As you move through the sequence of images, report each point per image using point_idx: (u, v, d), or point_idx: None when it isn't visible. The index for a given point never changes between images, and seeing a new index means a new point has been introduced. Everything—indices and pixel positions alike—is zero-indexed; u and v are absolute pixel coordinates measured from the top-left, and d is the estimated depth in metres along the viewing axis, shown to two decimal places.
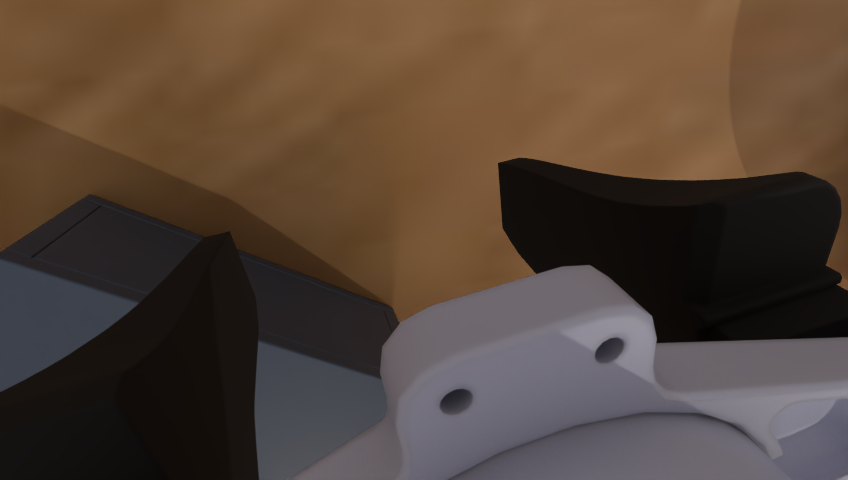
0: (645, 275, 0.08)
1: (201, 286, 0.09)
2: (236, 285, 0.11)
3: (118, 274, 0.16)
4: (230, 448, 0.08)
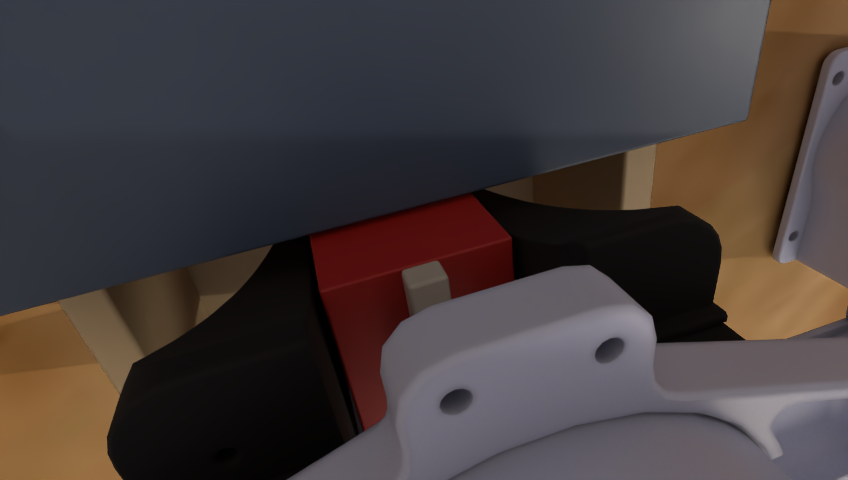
0: None
1: (310, 257, 0.10)
2: None
3: None
4: (348, 410, 0.09)
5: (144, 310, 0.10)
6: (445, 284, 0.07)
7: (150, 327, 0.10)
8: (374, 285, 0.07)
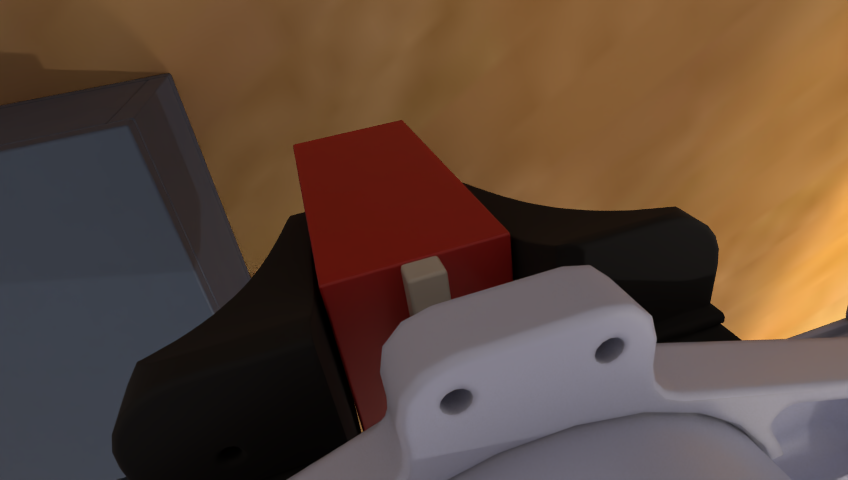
0: None
1: (312, 256, 0.10)
2: None
3: None
4: (350, 409, 0.09)
5: None
6: (445, 279, 0.07)
7: None
8: (374, 280, 0.07)
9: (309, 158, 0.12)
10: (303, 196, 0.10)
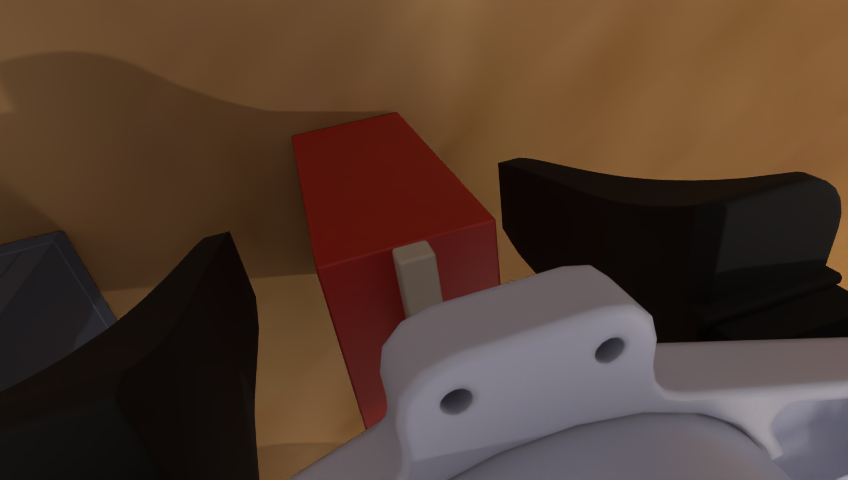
0: (645, 275, 0.08)
1: (201, 286, 0.09)
2: (236, 285, 0.11)
3: None
4: (230, 448, 0.08)
5: None
6: (433, 262, 0.08)
7: None
8: (367, 262, 0.08)
9: (307, 150, 0.12)
10: (301, 185, 0.11)
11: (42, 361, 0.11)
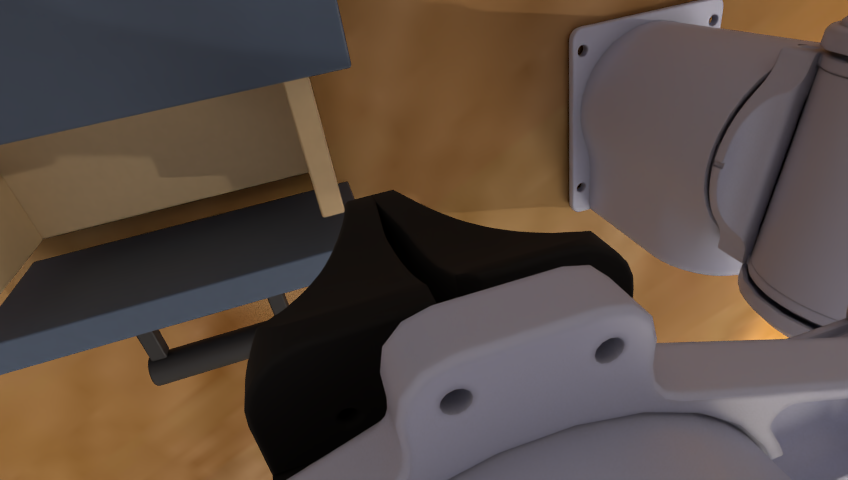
0: None
1: (385, 236, 0.10)
2: None
3: None
4: None
5: None
6: None
7: None
8: None
9: None
10: None
11: None
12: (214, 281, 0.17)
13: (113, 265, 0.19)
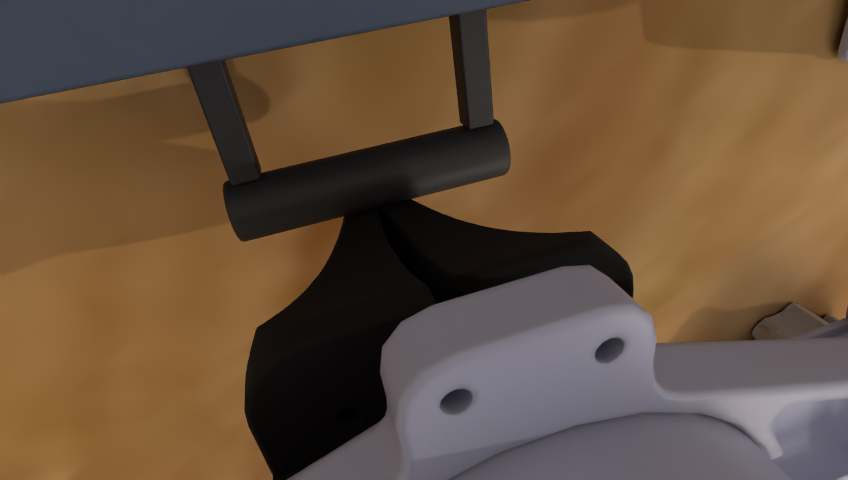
0: None
1: (385, 236, 0.10)
2: None
3: None
4: None
5: None
6: None
7: None
8: None
9: None
10: None
11: None
12: None
13: None
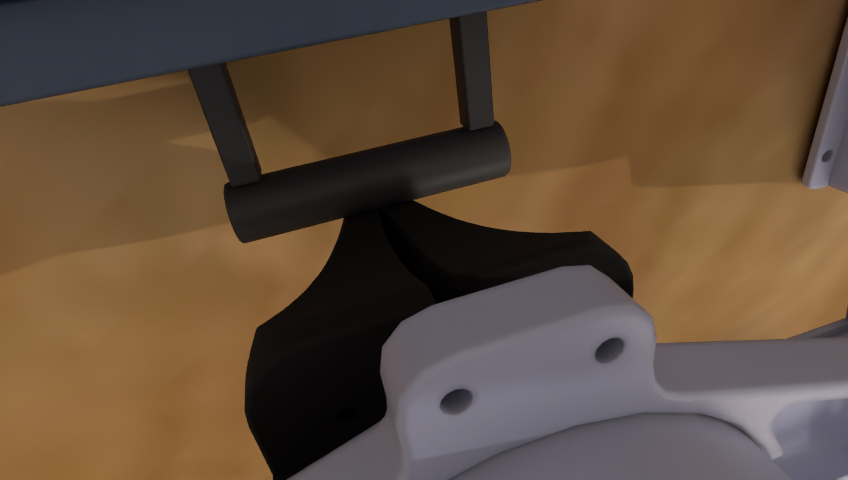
0: None
1: (385, 236, 0.10)
2: None
3: None
4: None
5: None
6: None
7: None
8: None
9: None
10: None
11: None
12: None
13: None
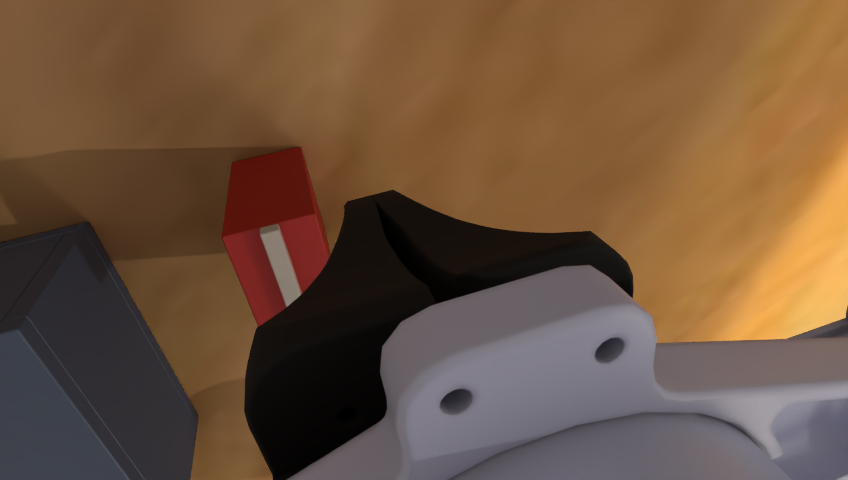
0: None
1: (385, 236, 0.10)
2: None
3: None
4: None
5: None
6: (278, 233, 0.16)
7: None
8: (247, 234, 0.16)
9: (238, 172, 0.20)
10: None
11: (80, 295, 0.19)
12: None
13: None
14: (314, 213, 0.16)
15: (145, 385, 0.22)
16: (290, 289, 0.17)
